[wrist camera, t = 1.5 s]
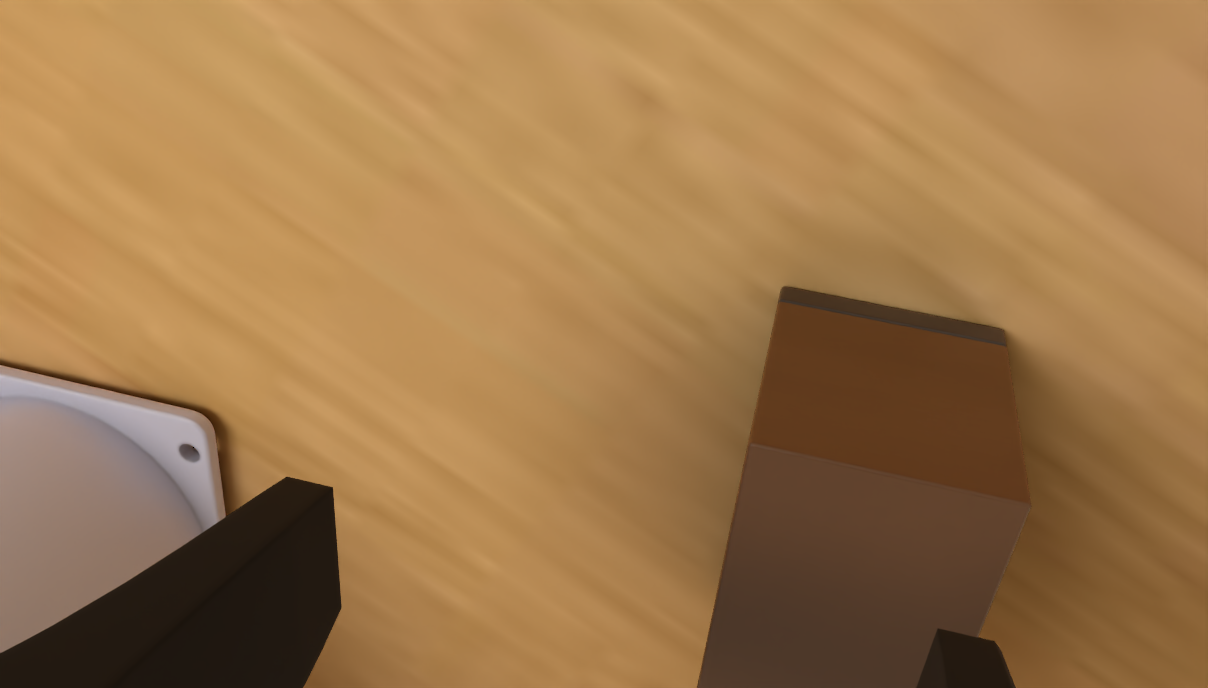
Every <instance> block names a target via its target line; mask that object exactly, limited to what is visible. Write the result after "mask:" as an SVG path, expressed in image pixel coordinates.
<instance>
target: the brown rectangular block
mask: <svg viewBox="0 0 1208 688" xmlns="http://www.w3.org/2000/svg"><path fill="white" fill-rule="evenodd" d="M1030 509H1031V500H1030V493H1029V487H1028V481H1027V474H1026V468H1025V461H1024V455H1023V448H1022V442H1021V435H1020V429H1019V422H1018V416H1017V409H1016V403H1015V396H1014V390H1013V383H1012V377H1011V371H1010V364H1009V358H1008V351H1007V347H1006V340H1005V333H1004V330H1002V329H999V328H994V327H988V326H983V325H978V324H973V323H968V322H963V321H958V320H953V319H948V318H943V317H938V316H933V315H928V314H922V313H917V312H912V311H907V310H902V309H897V308H892V307H887V306H882V305H877V304H872V303H867V302H861V301H856V300H851V299H846V298H841V297H836V296H831V295H826V294H821V293H816V292H811V291H806V290H800V289H795V288H790V287H782V289H781V291H780V296H779V301H778V305H777V310H776V315H775V319H774V324H773V329H772V334H771V338H770V343H769V348H768V352H767V357H766V362H765V366H764V371H763V376H762V381H761V385H760V390H759V395H758V399H757V404H756V409H755V413H754V418H753V423H752V428H751V432H750V437H749V442H748V446H747V451H746V456H745V461H744V465H743V470H742V475H741V480H740V485H739V489H738V494H737V499H736V504H735V508H734V513H733V518H732V523H731V527H730V532H729V537H728V542H727V547H726V551H725V556H724V561H723V566H722V570H721V575H720V580H719V585H718V590H717V594H716V599H715V604H714V609H713V613H712V618H711V623H710V628H709V632H708V637H707V642H706V647H705V652H704V656H703V661H702V666H701V671H700V675H699V680H698V685H697V688H916V687H917V684H918V682H919V679H920V676H921V673H922V670H923V668H924V665H925V662H926V659H927V656H928V654H929V651H930V648H931V645H932V642H933V640H934V637H935V634H936V631H937V628H939V629H944V630H948V631H952V632H957V633H961V634H965V635H969V636H974V637H978V636H979V634H980V631H981V629H982V626H983V624H984V622H985V619H986V617H987V614H988V612H989V609H990V607H991V604H992V602H993V599H994V597H995V595H996V592H997V590H998V587H999V585H1000V582H1001V580H1002V577H1003V575H1004V572H1005V570H1006V568H1007V565H1008V563H1009V560H1010V558H1011V555H1012V553H1013V550H1014V548H1015V545H1016V543H1017V541H1018V538H1019V536H1020V533H1021V531H1022V528H1023V526H1024V523H1025V521H1026V518H1027V516H1028V514H1029V511H1030Z"/></svg>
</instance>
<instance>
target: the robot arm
mask: <svg viewBox="0 0 1208 688" xmlns="http://www.w3.org/2000/svg"><path fill="white" fill-rule="evenodd" d="M190 445H191V446H193V447H194V448H195V449H196V450H197V451H196V450H195V449H193V448H192V447H191V446H190ZM340 610H341V595H340V581H339V567H338V553H337V539H336V525H335V511H334V498H333V487H329V486H325V485H320V484H316V483H312V482H307V481H303V480H299V479H294V478H290V477H286V478H284V479H282V480H281V481H279V482H278V483H276V484H275V485H273V486H272V487H270V488H269V489H267V490H266V491H264V492H262V493H261V494H259V495H258V496H256V497H255V498H253V499H252V500H250V501H249V502H247V503H246V504H244V505H243V506H241V507H240V508H238V509H237V510H235V511H234V512H232V513H231V514H229V515H228V516H226V513H225V505H224V498H223V490H222V482H221V475H220V467H219V459H218V452H217V444H216V437H215V431H214V428H213V425H212V424H211V422H210V421H209V420H208V418H206V417H205V416H204V415H203V414H201V413H199V412H196V411H194V410H190V409H186V408H181V407H177V406H173V405H169V404H164V403H160V402H156V401H152V400H147V399H143V398H139V397H135V396H130V395H126V394H122V393H118V392H113V391H109V390H105V389H101V388H96V387H92V386H88V385H83V384H79V383H75V382H71V381H66V380H62V379H58V378H54V377H49V376H45V375H41V374H37V373H32V372H28V371H24V370H20V369H15V368H11V367H7V366H2V365H0V688H303V686H304V685H305V683H306V681H307V679H308V677H309V675H310V673H311V671H312V669H313V667H314V665H315V663H316V661H317V659H318V657H319V655H320V653H321V651H322V649H323V647H324V645H325V642H326V640H327V638H328V636H329V634H330V631H331V629H332V627H333V625H334V623H335V621H336V618H337V616H338V614H339V612H340ZM916 688H1016V687H1015V685H1014V682H1013V680H1012V677H1011V675H1010V672H1009V670H1008V667H1007V665H1006V662H1005V659H1004V657H1003V654H1002V651H1001V650H1000V649H999V647H998V646H997V644H996V643H995V641H991V640H987V639H982V638H978V637H974V636H969V635H965V634H961V633H957V632H952V631H948V630H944V629H939V628H937V631H936V634H935V637H934V640H933V642H932V645H931V648H930V651H929V654H928V656H927V659H926V662H925V665H924V668H923V670H922V673H921V676H920V679H919V682H918V684H917V687H916Z"/></svg>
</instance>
